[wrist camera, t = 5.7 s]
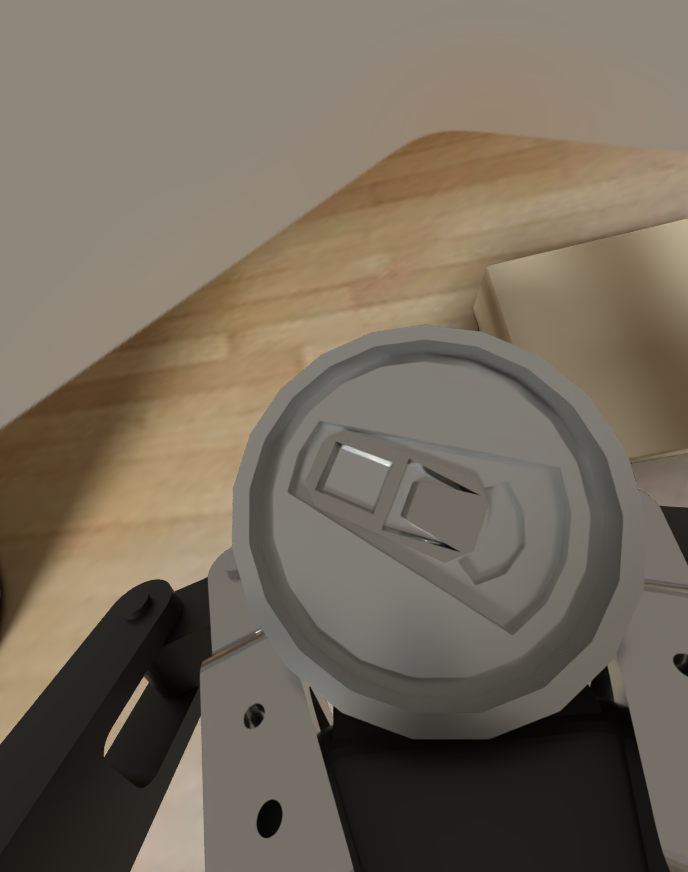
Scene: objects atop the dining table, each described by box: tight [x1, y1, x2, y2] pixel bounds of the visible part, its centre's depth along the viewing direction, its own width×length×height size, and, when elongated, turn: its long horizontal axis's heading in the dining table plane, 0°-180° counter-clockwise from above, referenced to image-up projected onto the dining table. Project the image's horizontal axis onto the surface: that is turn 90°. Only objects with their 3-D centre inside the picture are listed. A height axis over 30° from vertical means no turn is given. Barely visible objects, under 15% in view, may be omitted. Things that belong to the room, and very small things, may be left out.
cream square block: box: [473, 219, 688, 463], centre depth 15 cm, size 9×9×3 cm
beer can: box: [232, 325, 647, 739], centre depth 10 cm, size 5×5×12 cm
